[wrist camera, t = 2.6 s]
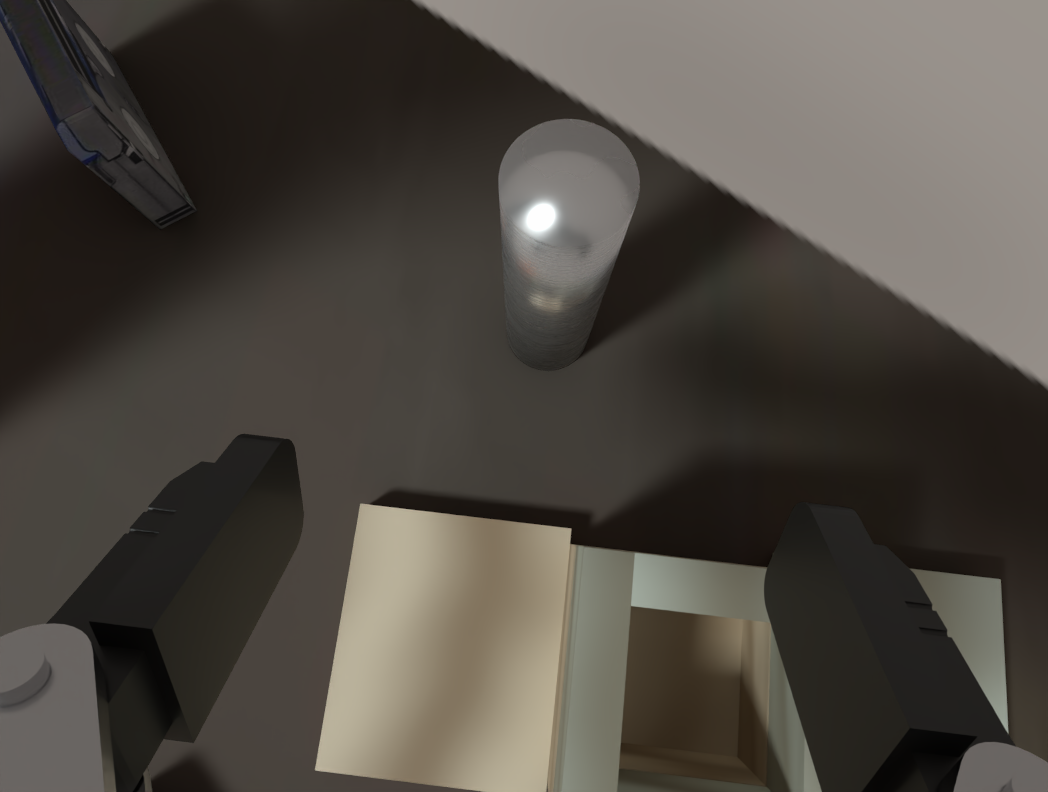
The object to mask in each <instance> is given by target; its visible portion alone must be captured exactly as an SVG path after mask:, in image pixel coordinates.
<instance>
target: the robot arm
mask: <svg viewBox="0 0 1048 792" xmlns="http://www.w3.org/2000/svg"><path fill="white" fill-rule="evenodd" d="M303 518H304V511H303V503H302V496H301V488H300V481H299V474H298V467H297V460H296V452H295V447H294V444H293V443H292V441H291V440H289V439H283V438H275V437H266V436H258V435H249V434H240V435H238V436H237V437H236V438H235V439H234V440H233V441H232V442H231V444H230V445H229V446H228V447H227V449H226V450H225V451H224V452H223V454H222V455H221V456H220V457H219V459H218V460H217V461H216V462H215V463H210V462H200V463H199V464H197V465H195V466H194V467H192V468H191V469H189V470H187V471H186V472H184V473H183V474H181V475H180V476H178V477H176V478H175V479H173V480H172V481H170V482H169V483H168V484H167V486H166V487H165V488H164V489H163V490H162V491H161V492H160V494H159V495H158V496H157V497H156V498H155V499H154V501H153V502H152V503H151V504H150V505H149V506H148V511H147V512H143V513H142V514H141V516H140V517H139V518H138V519H137V520H136V521H135V523H134V524H133V525H132V526H131V527H130V532H129V533H128V534H126V533H125V534H124V535H123V536H122V538H121V539H120V540H119V541H118V542H117V543H116V544H115V546H114V547H113V548H112V549H111V550H110V551H109V553H108V554H107V555H106V556H105V557H104V558H103V560H102V561H101V562H100V563H99V564H98V565H97V566H96V568H95V569H94V570H93V571H92V572H91V573H90V575H89V576H88V577H87V578H86V579H85V580H84V581H83V583H82V584H81V585H80V586H79V587H78V588H77V590H76V591H75V592H74V593H73V594H72V595H71V597H70V598H69V599H68V600H67V601H66V602H65V603H64V605H63V606H62V607H61V608H60V609H59V610H58V612H57V613H56V614H55V615H54V616H53V617H52V618H51V619H50V620H49V621H48V622H47V623H46V624H41V625H35V626H30V627H26V628H23V629H19V630H16V631H14V632H11V633H9V634H6V635H4V636H2V637H0V792H152V786H151V779H150V773H149V769H148V765H149V763H150V761H151V760H152V758H153V756H154V754H155V753H156V751H157V749H158V747H159V746H160V744H161V742H162V740H163V739H167V740H175V741H183V742H190V743H194V741H195V740H196V738H197V736H198V734H199V732H200V730H201V728H202V726H203V724H204V722H205V721H206V719H207V717H208V715H209V713H210V711H211V709H212V707H213V705H214V703H215V702H216V700H217V698H218V696H219V694H220V692H221V690H222V688H223V686H224V684H225V683H226V681H227V679H228V677H229V675H230V673H231V671H232V669H233V667H234V665H235V664H236V662H237V660H238V658H239V656H240V654H241V652H242V650H243V648H244V646H245V645H246V643H247V641H248V639H249V637H250V635H251V633H252V631H253V629H254V627H255V626H256V624H257V622H258V620H259V618H260V616H261V614H262V612H263V610H264V608H265V607H266V605H267V603H268V601H269V599H270V597H271V595H272V593H273V591H274V589H275V588H276V586H277V584H278V582H279V580H280V578H281V576H282V574H283V572H284V571H285V569H286V567H287V565H288V563H289V561H290V559H291V557H292V555H293V553H294V552H295V549H296V547H297V545H298V542H299V539H300V536H301V532H302V527H303ZM764 600H765V606H766V610H767V613H768V617H769V620H770V623H771V627H772V630H773V633H774V636H775V640H776V643H777V646H778V650H779V653H780V656H781V659H782V663H783V666H784V669H785V673H786V676H787V679H788V682H789V686H790V689H791V692H792V696H793V699H794V702H795V705H796V709H797V712H798V715H799V719H800V722H801V725H802V728H803V732H804V735H805V738H806V742H807V745H808V748H809V751H810V755H811V758H812V761H813V765H814V768H815V771H816V774H817V778H818V781H819V784H820V788H821V791H822V792H1048V763H1047V762H1046V761H1044V760H1043V759H1041V758H1039V757H1037V756H1035V755H1034V754H1032V753H1030V752H1028V751H1025V750H1023V749H1021V748H1018V747H1016V746H1015V744H1014V743H1013V741H1012V740H1011V738H1010V736H1009V734H1008V733H1007V731H1006V729H1005V728H1004V726H1003V724H1002V722H1001V721H1000V719H999V717H998V716H997V714H996V712H995V710H994V709H993V707H992V705H991V704H990V702H989V700H988V699H987V697H986V695H985V693H984V692H983V690H982V688H981V687H980V685H979V683H978V681H977V680H976V678H975V676H974V675H973V673H972V671H971V669H970V668H969V666H968V664H967V663H966V661H965V659H964V657H963V656H962V654H961V652H960V651H959V649H958V647H957V645H956V644H955V642H954V640H953V639H952V637H948V635H947V631H948V630H947V628H946V627H945V625H944V623H943V621H942V620H941V618H940V616H939V615H938V613H937V611H934V610H932V605H933V604H932V603H931V601H930V599H929V597H928V596H927V594H926V592H925V591H924V589H923V587H922V586H921V584H920V582H919V580H918V579H917V577H916V575H915V574H914V573H913V572H912V571H911V570H910V569H909V568H908V567H907V566H906V565H905V564H904V563H903V562H902V561H901V560H900V559H899V558H898V557H897V556H896V555H895V554H894V553H893V552H892V551H891V550H889V549H888V548H887V547H886V546H885V545H876V544H873V542H872V540H871V538H870V536H869V534H868V533H867V531H866V529H865V527H864V525H863V523H862V522H861V520H860V518H859V516H858V515H857V513H856V512H855V511H854V510H853V509H851V508H848V507H840V506H831V505H823V504H814V503H806V502H800V503H798V504H796V505H795V507H794V508H793V510H792V512H791V514H790V516H789V518H788V521H787V523H786V525H785V528H784V530H783V532H782V535H781V537H780V539H779V542H778V544H777V546H776V549H775V551H774V553H773V556H772V558H771V560H770V563H769V565H768V567H767V570H766V574H765V580H764Z"/></svg>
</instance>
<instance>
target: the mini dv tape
mask: <svg viewBox="0 0 1048 792" xmlns="http://www.w3.org/2000/svg"><path fill="white" fill-rule="evenodd" d="M0 22H1V23H2V25H3V27H4V29H5V31H6V33H7V35H8V37H9V39H10V41H11V43H12V45H13V47H14V49H15V51H16V53H17V55H18V57H19V59H20V61H21V63H22V65H23V67H24V69H25V71H26V73H27V75H28V77H29V79H30V80H31V82H32V84H33V86H34V88H35V90H36V92H37V94H38V96H39V98H40V100H41V102H42V104H43V106H44V108H45V110H46V112H47V114H48V116H49V118H50V120H51V122H52V124H53V126H54V128H55V130H56V132H57V133H58V135H59V137H60V138H61V140H62V142H63V143H64V145H65V147H66V148H67V150H68V151H69V152H70V153H71V154H73V155H74V156H75V157H76V158H77V159H78V160H80V161H81V162H82V163H83V164H84V165H85V166H87V167H88V168H89V169H90V170H91V171H92V172H94V173H95V174H96V175H97V176H98V177H99V178H101V179H102V180H103V181H104V182H105V183H107V184H108V185H109V186H110V187H111V188H112V189H114V190H115V191H116V192H117V193H118V194H119V195H121V196H122V197H123V198H124V199H125V200H126V201H128V202H129V203H130V204H131V205H132V206H133V207H135V208H136V209H137V210H138V211H139V212H140V213H142V214H143V215H144V216H145V217H146V218H147V219H149V220H150V221H151V222H152V223H153V224H154V225H156V226H157V227H158V228H159V229H163V228H165V227H167V226H168V225H170V224H172V223H174V222H176V221H178V220H180V219H182V218H184V217H186V216H188V215H190V214H192V213H194V212H196V211H197V210H196V208H195V206H194V204H193V203H192V201H191V199H190V197H189V195H188V193H187V192H186V190H185V188H184V186H183V184H182V182H181V180H180V179H179V177H178V175H177V173H176V171H175V169H174V168H173V166H172V164H171V162H170V160H169V158H168V157H167V155H166V153H165V151H164V149H163V147H162V146H161V144H160V142H159V140H158V138H157V136H156V135H155V133H154V131H153V129H152V127H151V125H150V124H149V122H148V120H147V118H146V116H145V114H144V113H143V111H142V109H141V107H140V105H139V103H138V101H137V100H136V98H135V96H134V94H133V92H132V90H131V89H130V87H129V85H128V83H127V81H126V79H125V78H124V76H123V74H122V72H121V70H120V68H119V67H118V65H117V63H116V61H115V59H114V57H113V56H112V54H111V53H110V52H109V50H108V49H107V48H106V47H105V46H104V45H103V43H102V42H101V41H100V40H99V39H98V38H97V36H96V35H95V34H94V33H93V32H92V31H91V29H90V28H89V27H88V26H87V25H86V23H85V22H84V21H83V20H82V19H81V18H80V16H79V15H78V14H77V13H76V12H75V11H74V9H73V8H72V7H71V6H70V5H69V3H68V2H67V1H66V0H0Z"/></svg>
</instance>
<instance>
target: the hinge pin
mask: <svg viewBox="0 0 1048 792" xmlns="http://www.w3.org/2000/svg"><path fill="white" fill-rule="evenodd" d="M498 184H499V202H500V220H501V238H502V256H503V274H504V291H505V309H506V327H507V338H508V343H509V345H510V348H511V349H512V351H513V353H514V354H515V356H516V357H517V358H518V359H519V360H520V361H522V362H523V363H524V364H526V365H528V366H530V367H532V368H535V369H538V370H545V371H551V370H557V369H561V368H564V367H566V366H568V365H570V364H571V363H573V362H574V361H575V360H576V359H577V358H578V357H579V356H580V355H581V353H582V352H583V350H584V348H585V346H586V343H587V340H588V337H589V335H590V332H591V329H592V326H593V324H594V321H595V318H596V315H597V312H598V310H599V307H600V304H601V301H602V298H603V296H604V293H605V290H606V287H607V284H608V282H609V279H610V276H611V273H612V270H613V268H614V265H615V262H616V259H617V256H618V254H619V251H620V248H621V245H622V243H623V240H624V237H625V234H626V231H627V229H628V226H629V223H630V220H631V217H632V215H633V212H634V209H635V206H636V203H637V200H638V196H639V190H640V178H639V172H638V168H637V165H636V162H635V160H634V158H633V156H632V154H631V152H630V151H629V149H628V148H627V147H626V145H625V144H624V143H623V142H622V141H621V140H620V139H619V138H618V137H617V136H616V135H614V134H613V133H611V132H610V131H609V130H607V129H605V128H603V127H601V126H599V125H597V124H594V123H591V122H587V121H583V120H577V119H558V120H552V121H548V122H544V123H541V124H539V125H537V126H534V127H532V128H531V129H529V130H527V131H526V132H524V133H523V134H522V135H521V136H519V137H518V138H517V139H516V140H515V141H514V142H513V143H512V145H511V146H510V147H509V149H508V150H507V152H506V154H505V156H504V157H503V160H502V163H501V166H500V171H499V179H498Z"/></svg>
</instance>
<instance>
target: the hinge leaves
mask: <svg viewBox="0 0 1048 792" xmlns="http://www.w3.org/2000/svg"><path fill="white" fill-rule="evenodd" d="M570 539H571V528H562V527H554V526H545V525H537V524H528V523H520V522H511V521H503V520H494V519H486V518H478V517H469V516H461V515H452V514H444V513H435V512H427V511H418V510H410V509H401V508H393V507H385V506H376V505H368V504H360V510H359V516H358V521H357V527H356V533H355V539H354V545H353V551H352V557H351V562H350V568H349V574H348V580H347V586H346V592H345V598H344V603H343V609H342V615H341V621H340V627H339V633H338V639H337V644H336V650H335V656H334V662H333V668H332V674H331V680H330V685H329V691H328V697H327V703H326V709H325V715H324V721H323V726H322V732H321V738H320V744H319V750H318V756H317V762H316V767H315V770H316V771H324V772H332V773H340V774H348V775H356V776H364V777H372V778H380V779H388V780H396V781H404V782H412V783H420V784H428V785H436V786H444V787H452V788H460V789H468V790H476V791H484V792H546V787H547V784H548V792H822V791H821V788H820V784H819V781H818V778H817V774H816V771H815V768H814V765H813V761H812V758H811V755H810V751H809V748H808V745H807V742H806V738H805V735H804V732H803V728H802V725H801V722H800V719H799V715H798V712H797V709H796V705H795V702H794V699H793V696H792V692H791V689H790V686H789V682H788V679H787V676H786V673H785V669H784V666H783V663H782V659H781V656H780V653H779V650H778V646H777V643H776V640H775V636H774V633H773V630H772V627H771V623H770V620H769V617H768V613H767V610H766V606H765V600H764V580H765V574H766V570H767V567H760V566H751V565H743V564H734V563H726V562H718V561H709V560H701V559H692V558H684V557H675V556H667V555H659V554H650V553H642V552H633V551H625V550H616V549H608V548H600V547H591V546H583V545H574V544H570ZM910 570H911V571H912V572H913V573H914V574H915V575H916V577H917V579H918V580H919V582H920V584H921V586H922V587H923V589H924V591H925V592H926V594H927V596H928V597H929V599H930V601H931V603H932V604H933V605H932V610H934V611H937V613H938V615H939V616H940V618H941V620H942V621H943V623H944V625H945V627H946V628H947V630H948V631H947V635H948V637H952V639H953V640H954V642H955V644H956V645H957V647H958V649H959V651H960V652H961V654H962V656H963V657H964V659H965V661H966V663H967V664H968V666H969V668H970V669H971V671H972V673H973V675H974V676H975V678H976V680H977V681H978V683H979V685H980V687H981V688H982V690H983V692H984V693H985V695H986V697H987V699H988V700H989V702H990V704H991V705H992V707H993V709H994V710H995V712H996V714H997V716H998V717H999V719H1000V721H1001V722H1002V724H1003V726H1004V728H1005V729H1006V731H1007V733H1008V716H1007V695H1006V675H1005V655H1004V635H1003V615H1002V595H1001V579H994V578H985V577H977V576H968V575H960V574H951V573H943V572H934V571H926V570H917V569H910Z"/></svg>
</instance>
